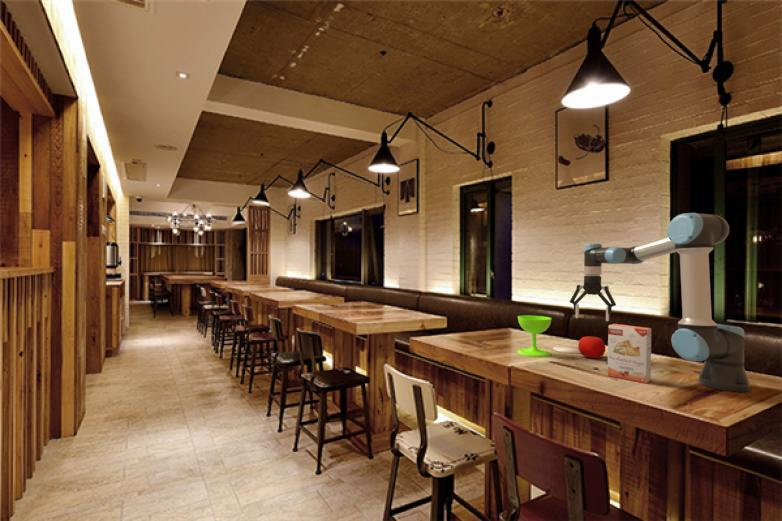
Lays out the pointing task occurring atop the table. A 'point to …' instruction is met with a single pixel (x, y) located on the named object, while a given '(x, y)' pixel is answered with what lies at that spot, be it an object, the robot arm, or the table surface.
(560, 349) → the plate
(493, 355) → the table surface
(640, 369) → the cracker box
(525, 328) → the wineglass
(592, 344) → the tomato
